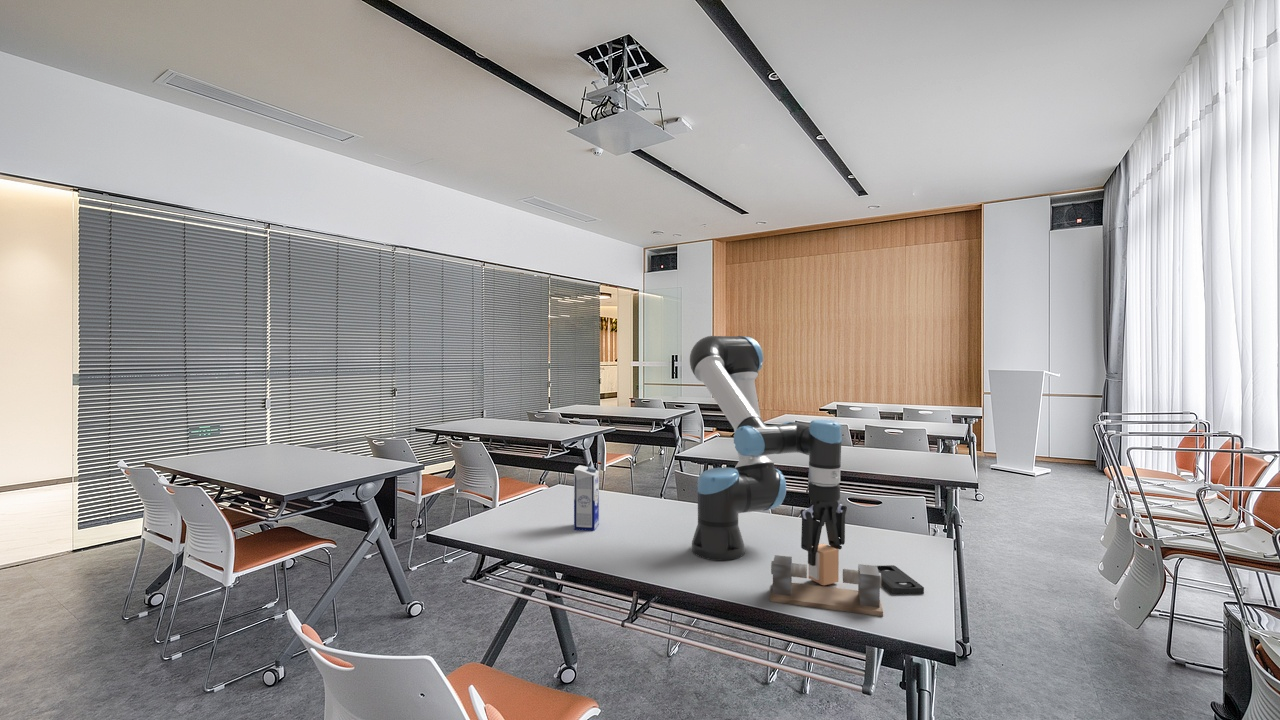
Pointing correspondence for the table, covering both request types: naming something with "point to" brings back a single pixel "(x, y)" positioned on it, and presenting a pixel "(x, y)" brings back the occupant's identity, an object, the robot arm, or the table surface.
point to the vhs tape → (898, 581)
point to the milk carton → (586, 498)
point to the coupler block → (827, 565)
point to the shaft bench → (827, 588)
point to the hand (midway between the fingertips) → (822, 575)
